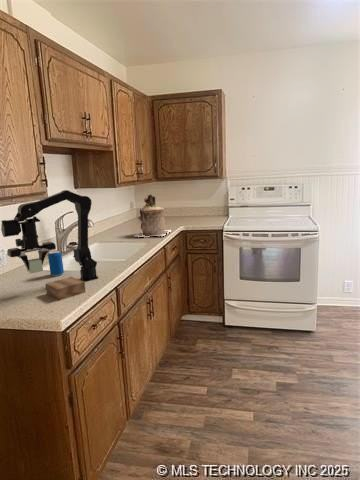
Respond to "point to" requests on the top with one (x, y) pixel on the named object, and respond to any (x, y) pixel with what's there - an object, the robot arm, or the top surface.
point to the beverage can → (55, 263)
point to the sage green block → (35, 265)
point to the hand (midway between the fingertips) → (34, 268)
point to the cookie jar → (152, 219)
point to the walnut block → (65, 288)
